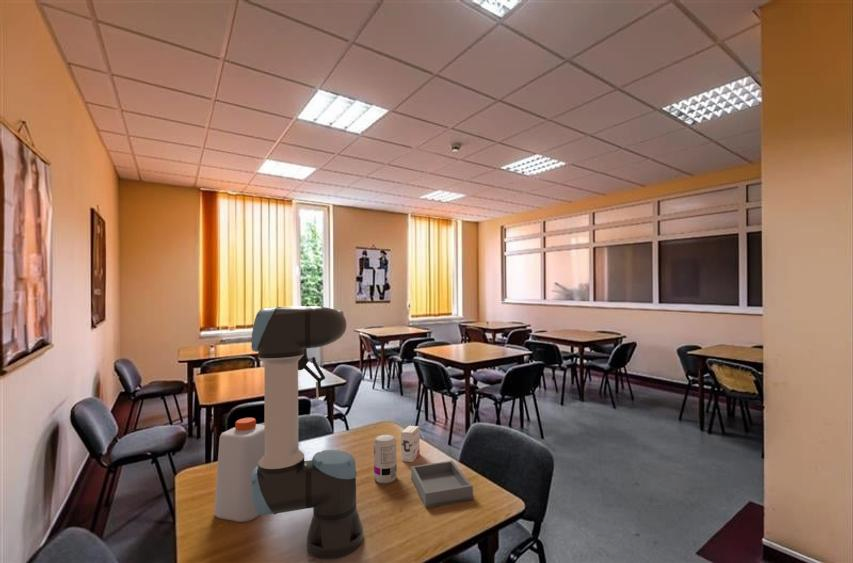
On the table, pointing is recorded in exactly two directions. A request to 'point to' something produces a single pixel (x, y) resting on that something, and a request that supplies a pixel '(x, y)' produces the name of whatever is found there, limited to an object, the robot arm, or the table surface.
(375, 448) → the supplement can
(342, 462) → the robot arm
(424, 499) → the tote
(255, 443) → the plastic bottle
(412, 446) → the ink box
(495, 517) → the table surface
